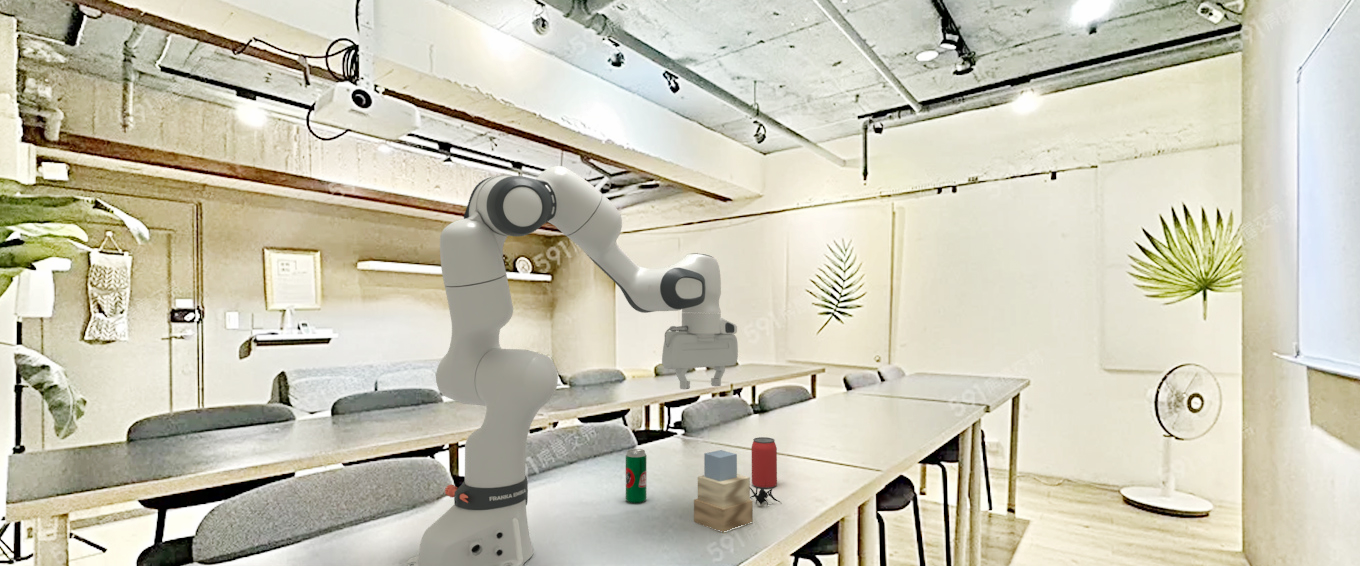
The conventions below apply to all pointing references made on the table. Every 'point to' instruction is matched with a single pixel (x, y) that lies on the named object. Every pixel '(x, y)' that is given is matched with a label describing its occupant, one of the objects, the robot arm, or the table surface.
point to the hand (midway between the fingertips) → (700, 387)
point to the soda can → (636, 476)
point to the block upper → (724, 491)
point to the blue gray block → (720, 465)
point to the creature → (762, 495)
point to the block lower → (723, 515)
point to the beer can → (764, 462)
